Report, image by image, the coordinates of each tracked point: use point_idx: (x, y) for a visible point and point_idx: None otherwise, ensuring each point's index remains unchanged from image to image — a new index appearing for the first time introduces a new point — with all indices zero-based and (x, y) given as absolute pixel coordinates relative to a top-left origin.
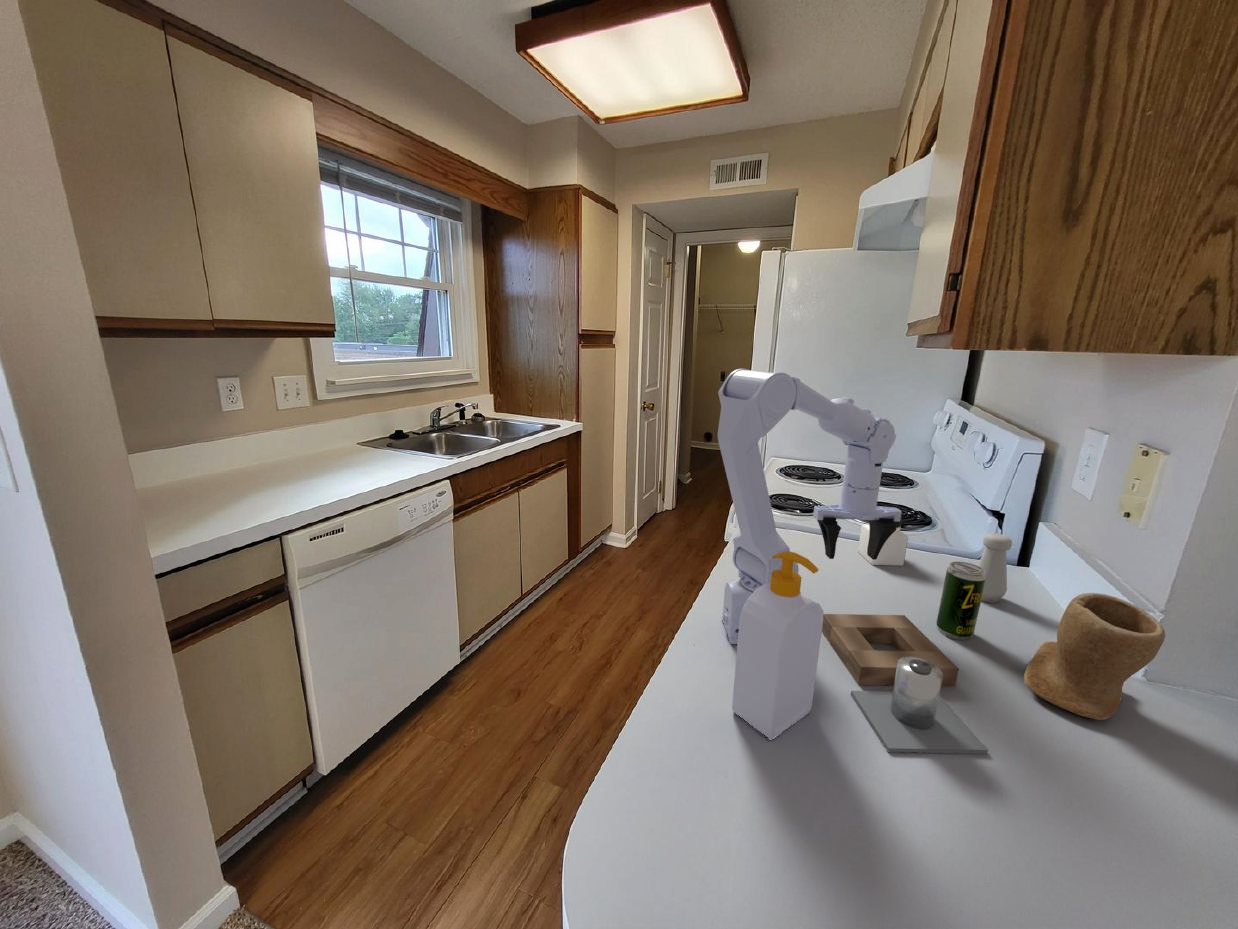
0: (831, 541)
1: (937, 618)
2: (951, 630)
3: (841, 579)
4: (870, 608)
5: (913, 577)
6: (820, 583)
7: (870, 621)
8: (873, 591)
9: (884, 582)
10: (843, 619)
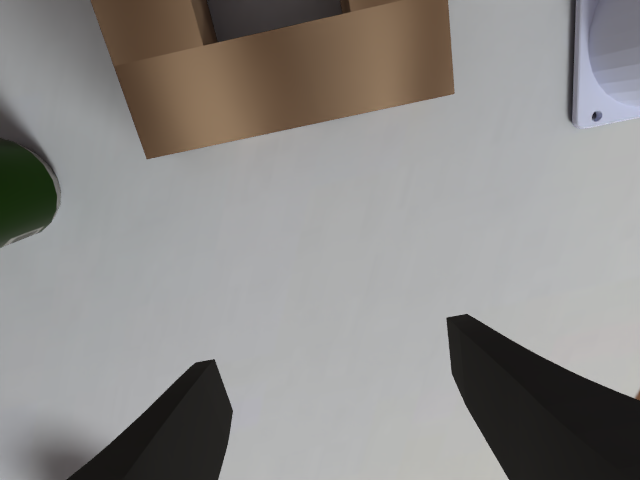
0: (574, 379)
1: (43, 209)
2: (10, 148)
3: (291, 413)
4: (241, 269)
5: None
6: (358, 379)
7: (282, 75)
8: None
9: None
10: (383, 66)
